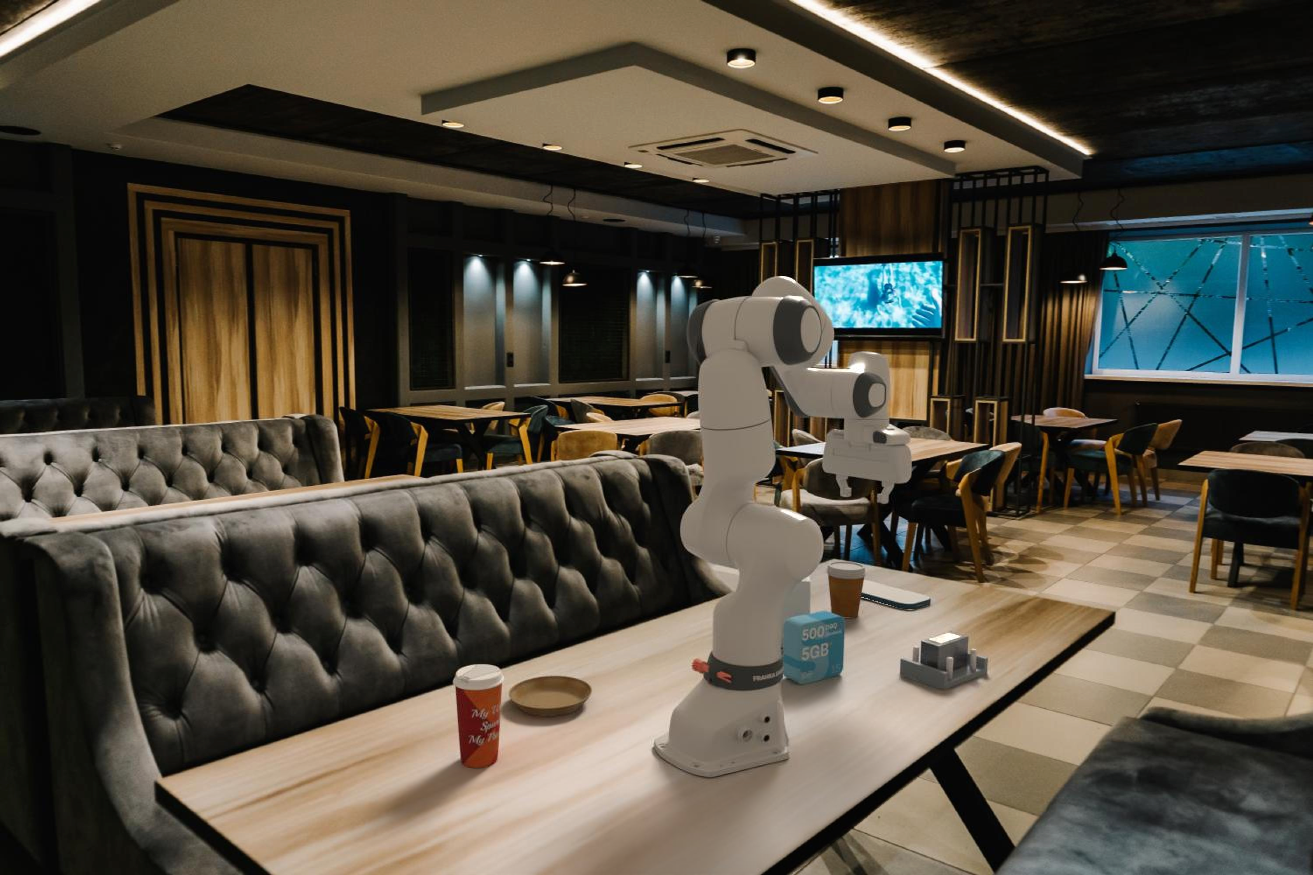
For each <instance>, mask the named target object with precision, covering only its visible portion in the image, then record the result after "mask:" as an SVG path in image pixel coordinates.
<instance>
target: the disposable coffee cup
mask: <svg viewBox="0 0 1313 875" xmlns="http://www.w3.org/2000/svg"><path fill="white" fill-rule="evenodd" d="M825 571H826V573H827V579H828V589H829V600H830V612H831V613H833V614H836V615H839V616H841V617H850V618H849V619H852V618H851V617H853V618H856V616H857V615H858V616H859V611H860V607H861V606H860V605H861V599H862V598H861V594H862V588H863V582H864V580H865V577H866V575H867V570H866V566H865V565H863V564H862V563H858V562H854V561H846V560H844V561H843V560H841V561H840V560H839V561H838V560H837V561H831V562H828V565H827V568H825ZM858 616H857V617H858Z"/></svg>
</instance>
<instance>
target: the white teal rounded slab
mask: <svg viewBox="0 0 1313 875" xmlns="http://www.w3.org/2000/svg"><path fill="white" fill-rule="evenodd" d="M861 597H864V598H868V599H870V600H874V601H878V602H881V603H884V604H888V605H891V606H894V607H897V608H896V609H898V608H902V609H901V610H903V609H915V610H917V609H916V608H919V609H921V607H922V608H925V607H927V606H926V605H928V606H930V605H931V602H932V601H931V597H930V596H928V595H926V594H923V593H919V592H915V591H912V590H907V589H903V588H899V587H896V586H892V585H887V584H884V583H881V582H880V583H879V582H875V581H872V580H868V579H864V582H863V588H862V594H861ZM929 604H930V605H929ZM891 606H890V607H891ZM924 606H925V607H924ZM894 607H893V608H894Z"/></svg>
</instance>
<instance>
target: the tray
mask: <svg viewBox="0 0 1313 875" xmlns="http://www.w3.org/2000/svg"><path fill="white" fill-rule="evenodd" d="M969 650H970V651H968V658H967V666H965V667H962V668H960V669H957V670H954V671H953V658H952V657H947V661H946V672H945V671H942V670H939V669H936V668H933V667H930V666H927V665H924V664H921V663H920V647H919V646H917V645H913V646H912V659H909V658H906V657H901V658H900V661H899V663H900V664H899V665H900V666H899V675H901V676H904V677H906V678H908V679H911V680H914V681H917V682H920V683H923V684H926V685H928V686H931V687H934V688H937V689H939V690H943V691H945V690H948V689H949V690H950V689H951V688H953V687H956V686H958V685H961V684H963V683H966V682H969V681H971V680H974V679H976V678H980V677H982V676H984V675H986V674H988V667H989V666H988V664H989V662H988V661H989V657H986V656H983V655H981V654H977V653H978V649H976V648H970V649H969Z"/></svg>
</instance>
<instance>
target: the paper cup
mask: <svg viewBox="0 0 1313 875" xmlns="http://www.w3.org/2000/svg"><path fill="white" fill-rule="evenodd" d="M503 682H505V676H504V675H503V674H502V671H501V669H500V667H498V666H496V665H492V664H486V663H485V664H483V663H482V664H481V663H480V664H479V663H478V664H470V665H466V666H463V667H460V668H459V669H458V670H457V671H456V672H455V676H454V678H453V680H452V684H453V685H454V687H455V698H456V699H455V700H456V715H457V728H458V729H457V730H458V741H459V742H458V743H459V754H460V755H459V756H460V762H461V764H462V766H464V767H467V768H470V769H483V768H487V767H491V766H493V765H494V764H495V763H496V762H497V761H498V758H499V747H500V730H501V729H500V727H501V712H502V711H501V709H502V693H503V692H502V688H503Z"/></svg>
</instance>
